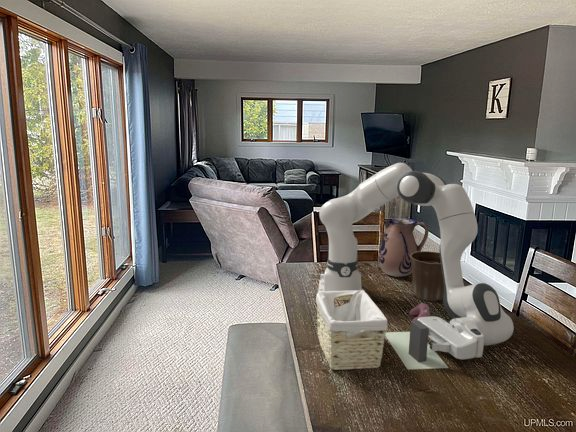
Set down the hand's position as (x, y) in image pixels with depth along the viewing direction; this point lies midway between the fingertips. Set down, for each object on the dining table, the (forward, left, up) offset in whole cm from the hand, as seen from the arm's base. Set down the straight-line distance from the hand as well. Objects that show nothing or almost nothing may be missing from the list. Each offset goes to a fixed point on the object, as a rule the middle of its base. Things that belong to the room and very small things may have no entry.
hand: (421, 339), depth 123 cm
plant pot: (-47, +22, -6) cm, 52 cm away
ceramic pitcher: (-74, +20, -6) cm, 77 cm away
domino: (0, -1, -5) cm, 5 cm away
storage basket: (-6, -20, -6) cm, 21 cm away
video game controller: (-25, +10, -6) cm, 27 cm away
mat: (-5, 0, -6) cm, 8 cm away
